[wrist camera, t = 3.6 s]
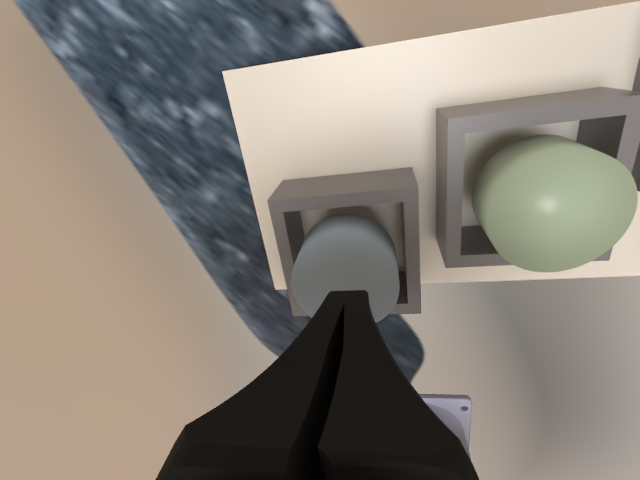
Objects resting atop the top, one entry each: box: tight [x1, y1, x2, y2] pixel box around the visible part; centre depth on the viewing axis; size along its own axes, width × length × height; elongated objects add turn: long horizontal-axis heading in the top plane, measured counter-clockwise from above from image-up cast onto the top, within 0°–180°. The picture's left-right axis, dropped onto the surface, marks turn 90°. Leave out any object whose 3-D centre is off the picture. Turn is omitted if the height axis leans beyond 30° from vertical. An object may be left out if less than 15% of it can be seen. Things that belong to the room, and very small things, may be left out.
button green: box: [472, 134, 638, 272], centre depth 13 cm, size 4×4×2 cm
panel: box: [222, 1, 640, 316], centre depth 16 cm, size 12×25×5 cm, turn 98°
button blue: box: [291, 214, 400, 323], centre depth 15 cm, size 4×4×2 cm
